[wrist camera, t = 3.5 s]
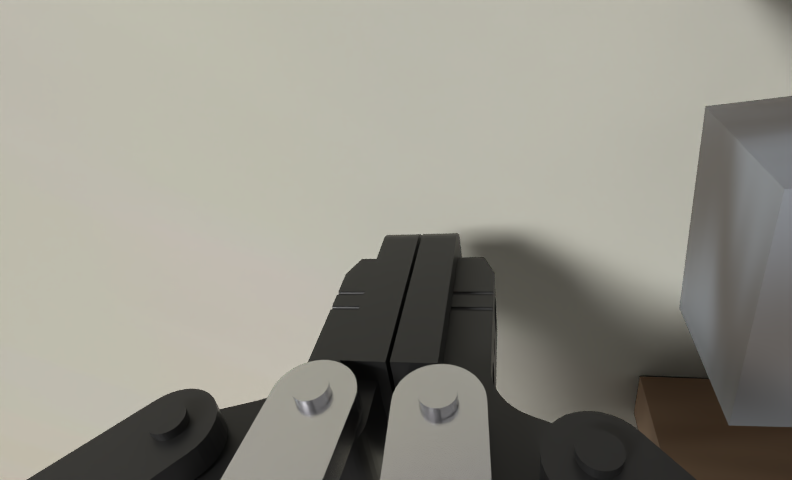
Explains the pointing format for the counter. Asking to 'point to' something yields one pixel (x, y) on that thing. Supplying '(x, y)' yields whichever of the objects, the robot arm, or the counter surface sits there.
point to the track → (708, 433)
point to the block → (743, 260)
